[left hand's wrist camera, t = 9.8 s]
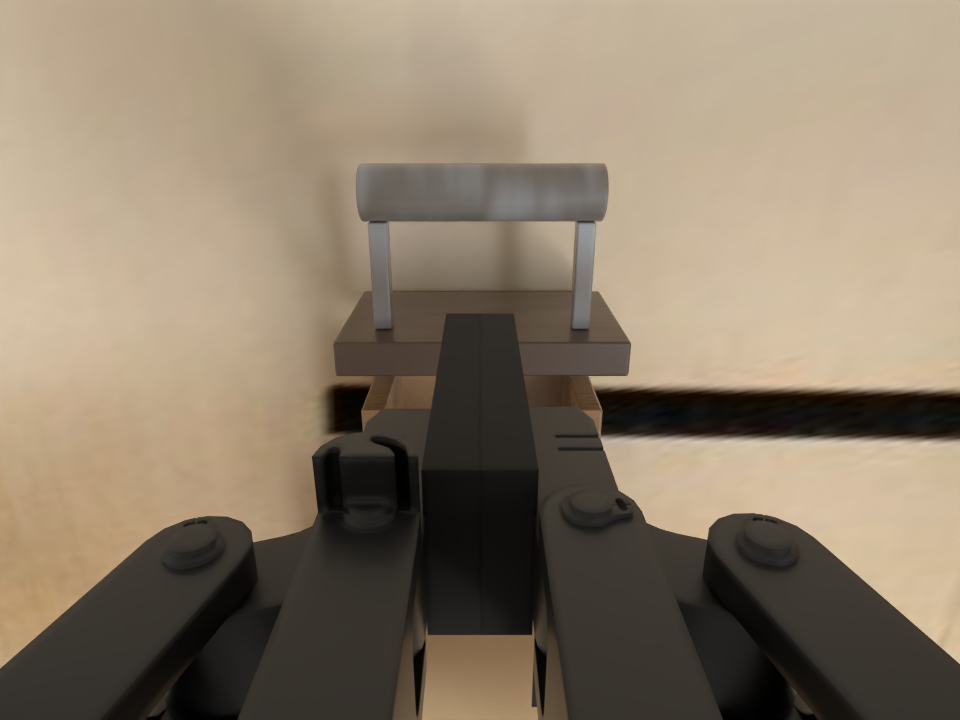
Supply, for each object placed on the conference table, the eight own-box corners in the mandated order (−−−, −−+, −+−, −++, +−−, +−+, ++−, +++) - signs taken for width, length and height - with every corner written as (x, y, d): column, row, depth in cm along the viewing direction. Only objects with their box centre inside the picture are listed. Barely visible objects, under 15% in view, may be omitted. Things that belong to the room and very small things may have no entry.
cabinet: (368, 489, 31) (334, 610, 24) (593, 489, 31) (629, 610, 24) (390, 780, 39) (369, 940, 31) (571, 780, 39) (593, 940, 31)
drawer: (354, 153, 24) (316, 168, 19) (609, 153, 24) (648, 168, 19) (388, 649, 34) (370, 760, 28) (573, 649, 34) (593, 760, 28)
